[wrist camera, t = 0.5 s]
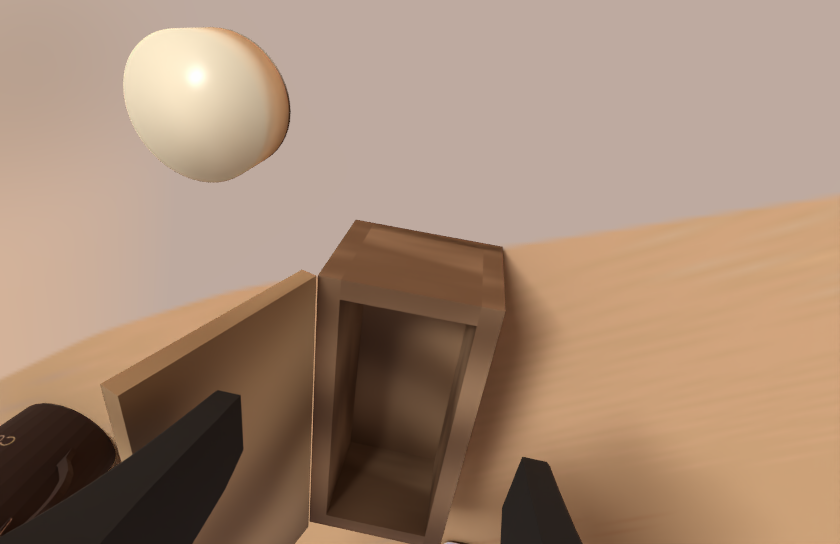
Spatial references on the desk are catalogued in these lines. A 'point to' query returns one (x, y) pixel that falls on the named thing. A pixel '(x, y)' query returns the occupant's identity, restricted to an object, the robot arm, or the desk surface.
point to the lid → (260, 402)
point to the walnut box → (399, 376)
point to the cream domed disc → (206, 101)
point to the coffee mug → (47, 460)
